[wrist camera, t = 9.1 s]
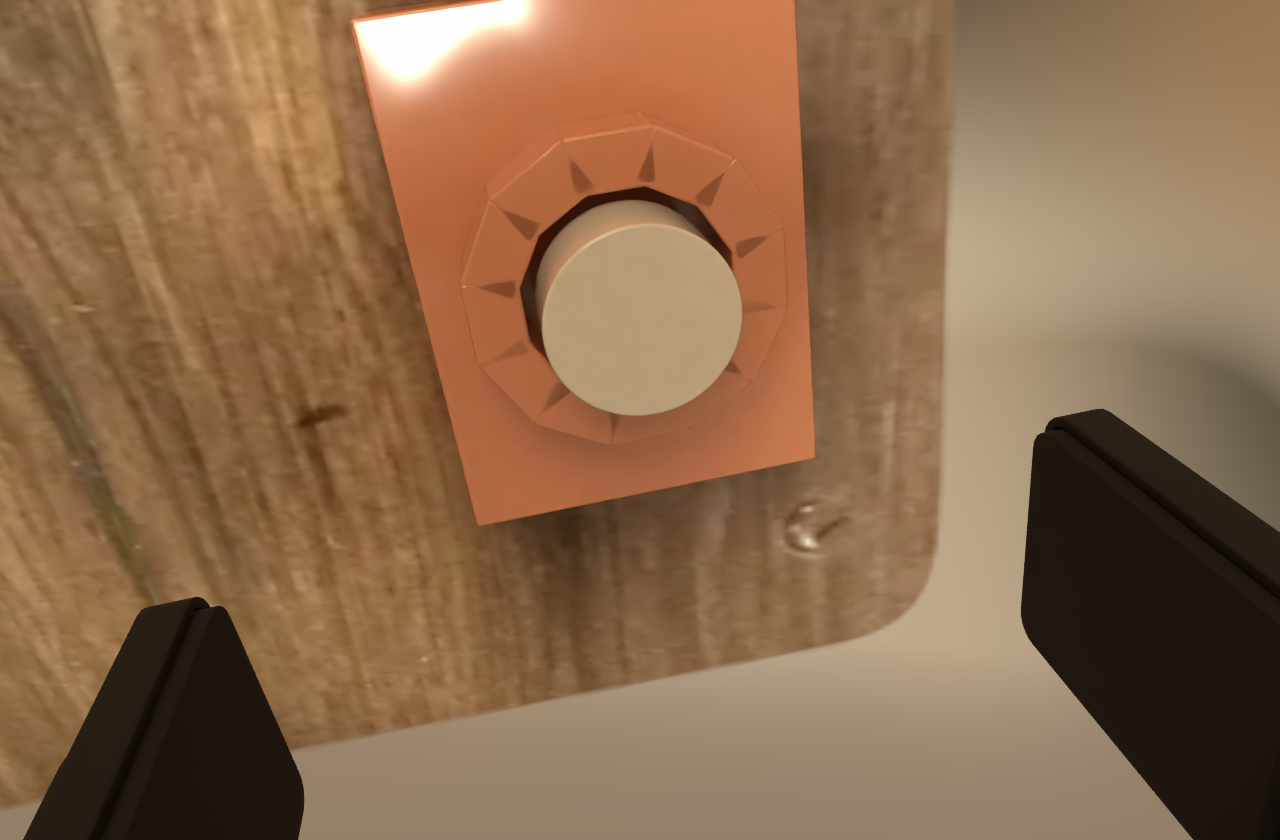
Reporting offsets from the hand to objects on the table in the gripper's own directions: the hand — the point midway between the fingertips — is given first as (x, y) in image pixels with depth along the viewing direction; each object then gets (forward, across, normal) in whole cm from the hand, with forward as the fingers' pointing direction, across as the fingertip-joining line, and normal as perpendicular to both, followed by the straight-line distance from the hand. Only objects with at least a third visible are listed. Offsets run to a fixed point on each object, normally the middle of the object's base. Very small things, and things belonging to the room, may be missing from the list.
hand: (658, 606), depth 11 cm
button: (+10, -1, 0) cm, 10 cm away
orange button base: (+15, -1, 0) cm, 15 cm away
